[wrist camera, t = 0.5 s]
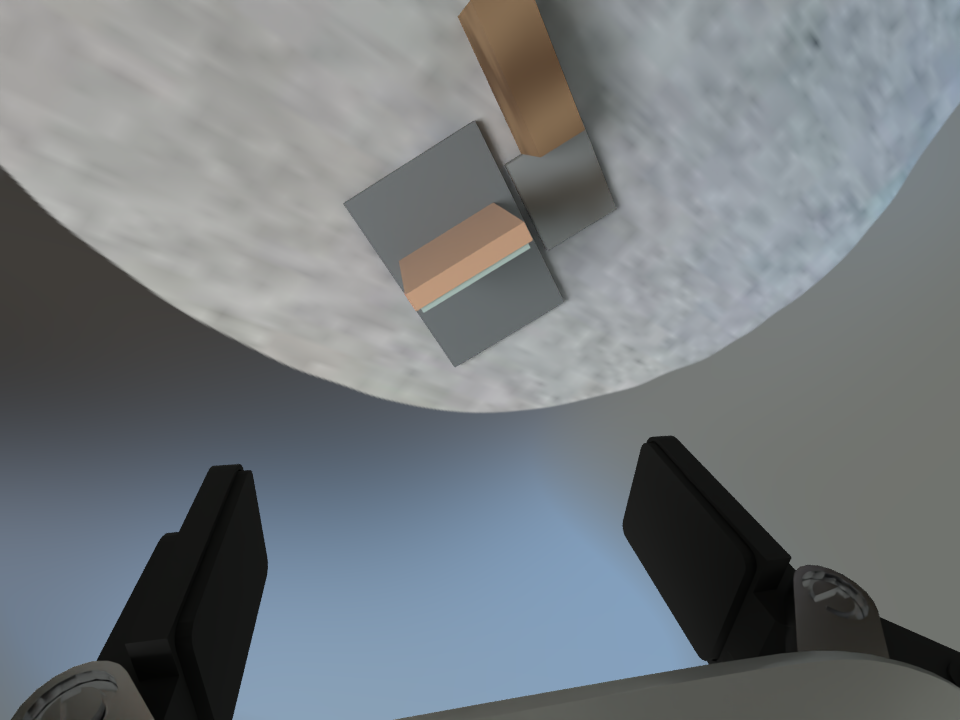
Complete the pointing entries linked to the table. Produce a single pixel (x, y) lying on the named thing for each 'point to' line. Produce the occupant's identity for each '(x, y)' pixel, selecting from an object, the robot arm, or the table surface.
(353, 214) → the mat
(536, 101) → the tall brown block
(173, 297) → the table surface
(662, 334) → the table surface
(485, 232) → the tile
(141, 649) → the robot arm
